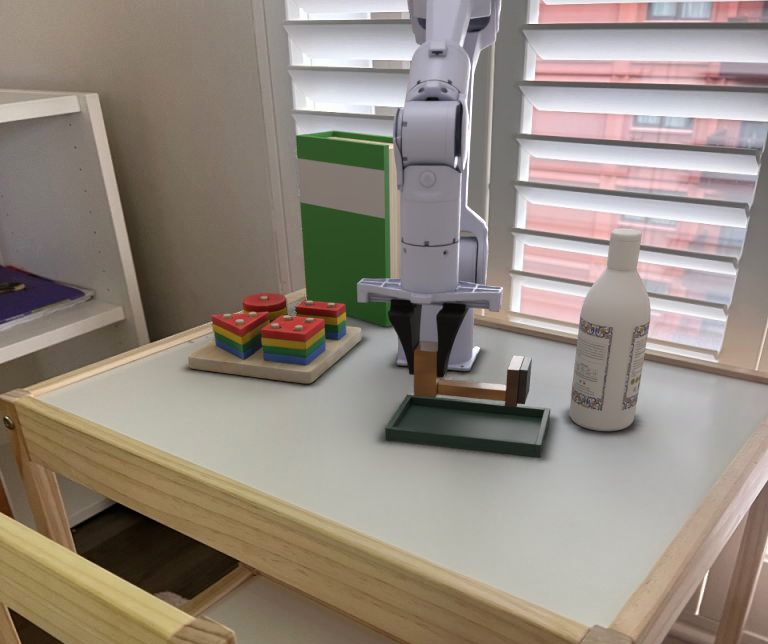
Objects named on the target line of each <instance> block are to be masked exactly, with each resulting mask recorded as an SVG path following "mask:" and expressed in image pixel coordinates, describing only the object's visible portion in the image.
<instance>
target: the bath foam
mask: <svg viewBox="0 0 768 644" xmlns="http://www.w3.org/2000/svg"><path fill="white" fill-rule="evenodd" d="M642 237H643V233H642V231H641V230H639V229H635V228H628V227H627V228H625V227H624V228H623V227H622V228H621V227H620V228H615V229H612V230H611V232H610V238H609V244H608V250H607V251H608V252H607V260H606V267H605V269H604V270H603V271H602V273H601V274H600V275H599V277H598V278H597V279H596V280H595V281H594V283H593V284H592V286H591V287H590V288H589V290H588V291H587V293H586V295H585V298H584V299H583V303H582V305H581V310H580V314H579V322H578V332H577V339H576V348H575V357H574V358H575V359H574V365H573V367H574V368H573V377H572V385H571V393H570V404H569V416H570V418H571V420H572V422H574V423H575V424H576V425H578V426H580V427H582V428H584V429H587V430H592V431H596V432H597V431H598V432H614V431H615V432H616V431H620V430H625V429H626V428H628V427H629V426H631V425H632V424H633V422H634V421H635V415H636V409H637V403H638V398H639V392H640V385H641V380H642V373H643V367H644V360H645V354H646V349H647V343H648V337H649V336H648V335H649V330H650V323H651V314H652V313H651V301H650V296H649V293H648V291H647V288H646V285H645V284H644V281H643V279H642V277H641V275H640V273H639V272H638V263H639V257H640V251H641V250H640V249H641V243H642Z"/></svg>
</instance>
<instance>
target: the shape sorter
mask: <svg viewBox="0 0 768 644" xmlns="http://www.w3.org/2000/svg"><path fill="white" fill-rule="evenodd" d="M287 300H288V299H287V296H286V295H284V294H281V293H277V292H275V293H274V292H260V293H254V294H249V295H247V296H245V297H243V299H242V301H241V303H242V311H243V313H224V314H211V316H210V317H211V322H212V323H211V329H212V331H213V334H214V339H212V340H210V341H209V342H207V343H206V344H204V345H202V346H201V347H199V348H198V349H196V350H194V351H193V352H191V353H190V354H188V356H187V359H188V368H189V369H192V370H200V371H207V372H216V373H223V374H229V375H230V374H231V375H237V376H243V377H244V376H245V377H251V378H259V379H260V378H261V379H267V380H275V381H281V382H290V383H297V384H308V385H309V384H312V383H313V382H314V381H316V380H317V379H318V378H320V376H322V375H323V374H325V372H326V371H327V370H328V369H330V368H331V367H332V366H333V365H334V364H336V363H337V362H338V361H339V360H340V359H341V358H342V357H343V356H345V355H346V354H347V353H348V352H350V351H351V349H353V348H354V347H356V345H357V344H358V343H359V342H361V341H362V328H361V327H357V326H349V325H348V326H347V315H346V312H345V311H346V306H345V304H339V303H328V302H317V301H307V299H306V300H305V299H304V300H303V301H301V302H299V303H298V304H296V305H295V306H294V307H295V310H294V311H295V313H296V314H295V315H289V312H288V302H287Z"/></svg>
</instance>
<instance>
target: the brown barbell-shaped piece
mask: <svg viewBox="0 0 768 644" xmlns="http://www.w3.org/2000/svg"><path fill="white" fill-rule="evenodd" d="M437 357H438V342H434V341H420V342H419V344H418V345H417V347H416V348H415V350H414V375H413V395H418V396H428V397H437V396H448V397H458V398H467V399H479V400H488V401H489V400H490V401H498V402H504V404H505V406H508V407H517V405H526V402H527V399H528V397H529V392H530V386H531V373H532V364H533V362H532V361H533V358H532V357H526V356H522V355H512V357H511V360H510V362H509V365H508V367H507V368H506V370H507V371H506V383H505V384H499V383H491V382H489V383H488V382H478V381H468V380H457V379H446V378H443V377H437Z"/></svg>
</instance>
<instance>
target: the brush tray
mask: <svg viewBox="0 0 768 644" xmlns="http://www.w3.org/2000/svg"><path fill="white" fill-rule="evenodd" d="M550 416H551V408H550V407H540V406H531V405H522V404H517V407H508V406H505V403H498V402H489V401H479V400H478V401H477V400H469V399H457V398H448V397H437V396H436V397H428V396H418V395H414V394H406V395H405V397H404V398H403V400H402V401H401V403H400V404H399V406H398V408H397V410H396V411H395V412H394V414H393V416H392V417H391V419H390V420H389V421H388V423H387V425H386V427H385V429H384V431H385V433H384V435H385V441H391V442H401V443H409V444H418V445H426V446H437V447H444V448H453V449H463V450H470V451H478V452H489V453H498V454H506V455H514V456H523V457H533V458H541V456H542V455H541V454H542V450H543V448H544V447H543V446H544V442H545V439H546V434H547V431H548V427H549V423H550V419H551V418H550Z"/></svg>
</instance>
